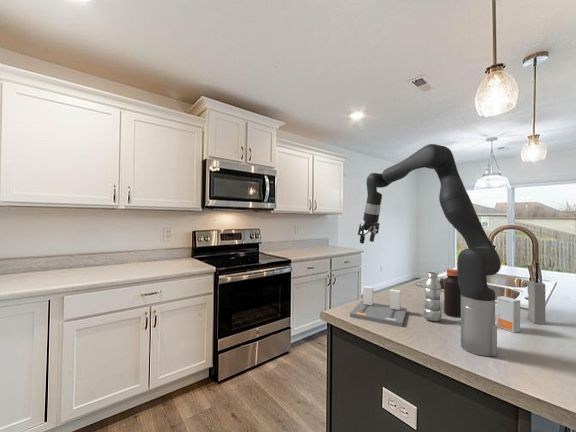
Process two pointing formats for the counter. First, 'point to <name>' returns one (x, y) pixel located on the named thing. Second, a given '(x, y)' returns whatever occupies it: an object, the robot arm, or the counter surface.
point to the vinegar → (452, 294)
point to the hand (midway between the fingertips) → (366, 242)
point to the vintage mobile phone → (536, 300)
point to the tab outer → (368, 295)
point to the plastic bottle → (432, 297)
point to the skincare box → (508, 313)
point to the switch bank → (379, 313)
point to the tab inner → (395, 299)
